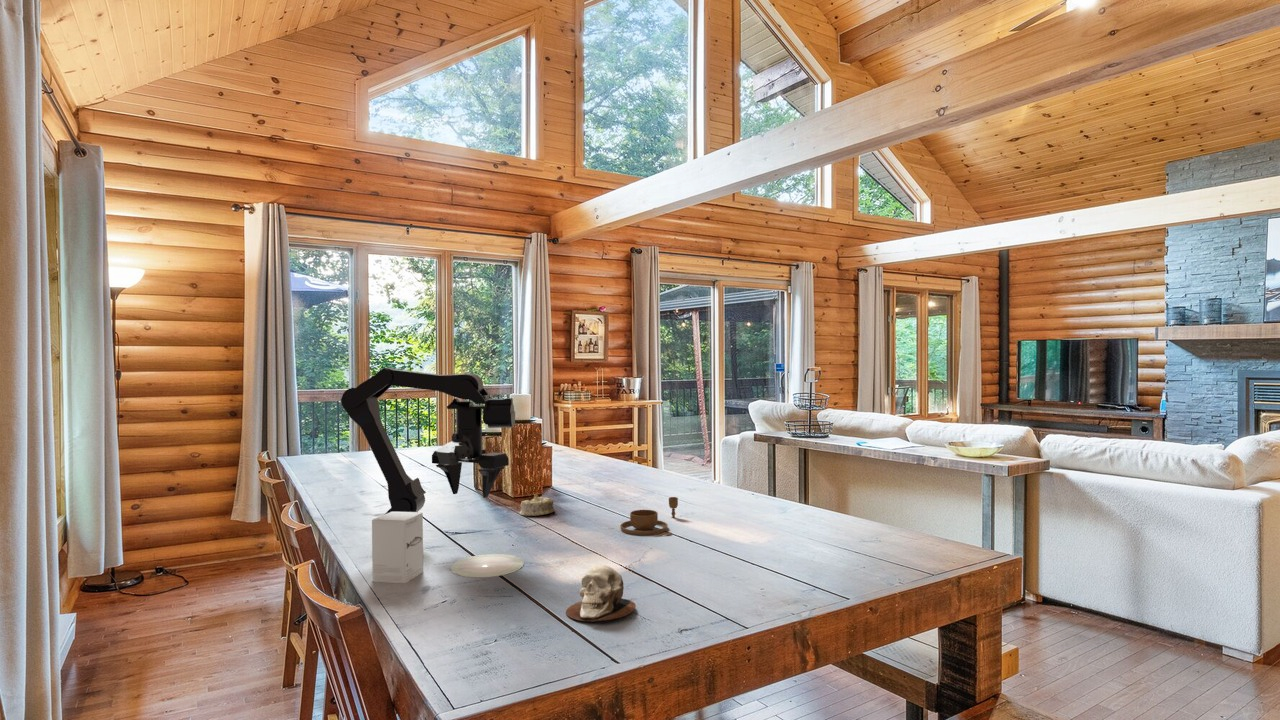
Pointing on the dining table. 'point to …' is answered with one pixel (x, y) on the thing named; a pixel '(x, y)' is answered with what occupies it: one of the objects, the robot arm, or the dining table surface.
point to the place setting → (648, 521)
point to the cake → (537, 506)
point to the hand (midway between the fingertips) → (470, 495)
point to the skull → (601, 596)
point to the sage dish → (487, 565)
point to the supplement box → (397, 547)
